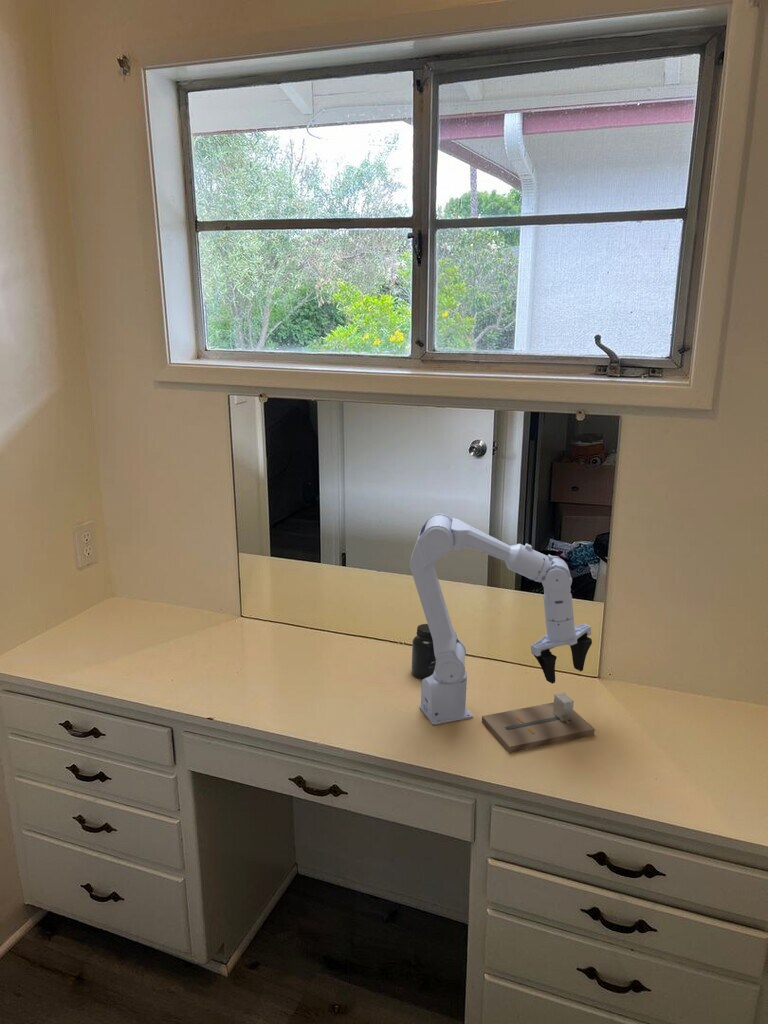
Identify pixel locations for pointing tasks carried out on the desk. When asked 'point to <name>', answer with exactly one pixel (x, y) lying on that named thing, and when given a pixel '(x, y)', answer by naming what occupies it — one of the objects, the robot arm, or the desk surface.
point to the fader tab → (563, 707)
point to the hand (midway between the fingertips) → (564, 675)
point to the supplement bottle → (423, 653)
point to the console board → (534, 727)
